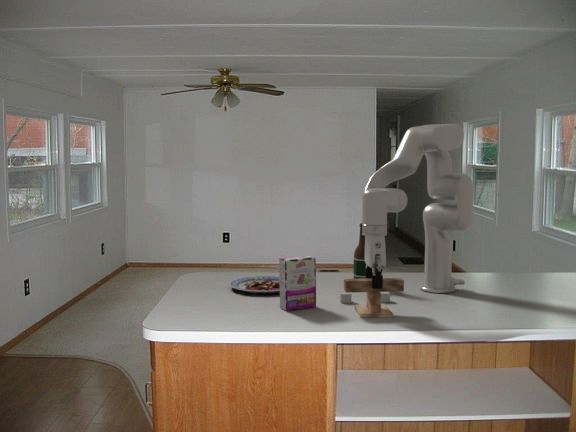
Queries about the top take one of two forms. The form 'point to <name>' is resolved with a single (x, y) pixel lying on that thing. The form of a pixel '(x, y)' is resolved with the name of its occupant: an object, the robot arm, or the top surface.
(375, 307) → the fulcrum
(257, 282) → the ceramic plate
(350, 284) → the walnut bar
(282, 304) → the candy bar box
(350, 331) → the top surface
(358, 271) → the beer bottle
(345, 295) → the grey cubes
